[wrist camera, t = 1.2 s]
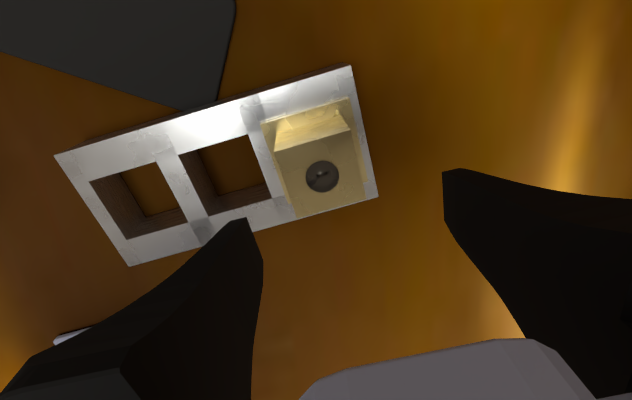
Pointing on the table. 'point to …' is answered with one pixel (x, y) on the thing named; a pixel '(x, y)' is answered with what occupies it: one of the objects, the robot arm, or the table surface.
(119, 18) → the phone
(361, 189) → the tan block with hole
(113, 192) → the slotted metal bracket
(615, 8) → the table surface
